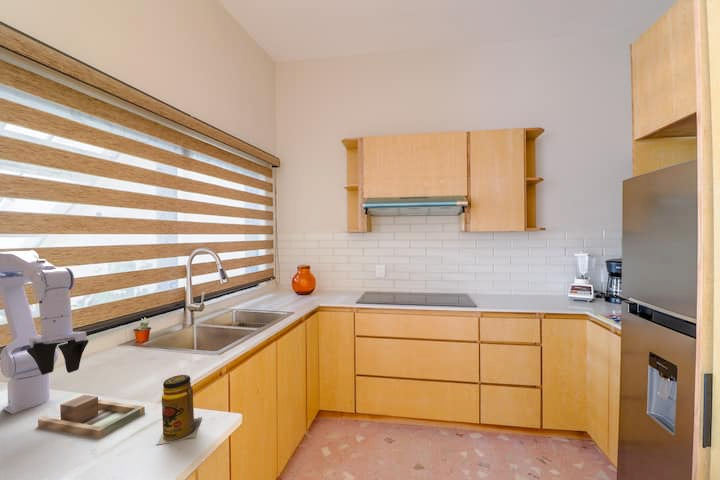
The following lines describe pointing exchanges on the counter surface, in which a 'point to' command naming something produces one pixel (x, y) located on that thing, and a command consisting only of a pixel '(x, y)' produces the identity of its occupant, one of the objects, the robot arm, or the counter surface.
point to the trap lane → (97, 419)
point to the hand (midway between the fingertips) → (60, 372)
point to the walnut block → (79, 408)
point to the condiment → (178, 410)
